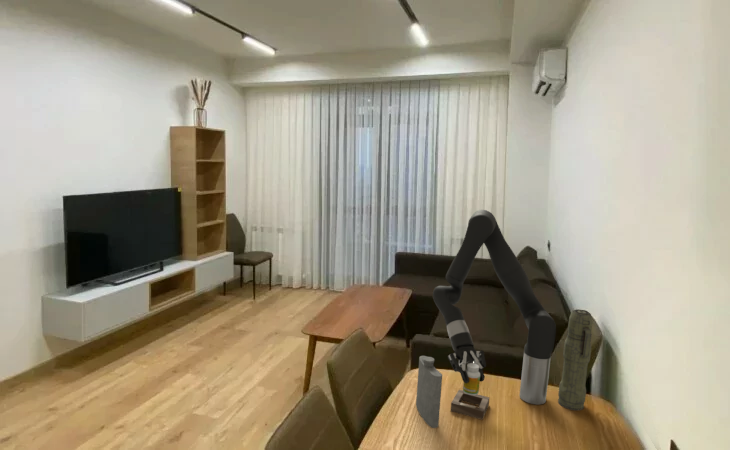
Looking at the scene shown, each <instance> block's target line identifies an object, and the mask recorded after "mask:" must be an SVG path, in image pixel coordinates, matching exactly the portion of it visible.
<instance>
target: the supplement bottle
mask: <svg viewBox="0 0 730 450" xmlns="http://www.w3.org/2000/svg"><path fill="white" fill-rule="evenodd" d="M465 371H466V372H467V375H468V378H469V382H468V383H465V382H463V384H462V390H463V391H464V393H466V394H468V395H477V394H478V395H479V391H480V383H481V382H480V372H479V366H478V365H477V364H474V363H466V369H465Z"/></svg>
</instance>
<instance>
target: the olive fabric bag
mask: <svg viewBox="0 0 730 450" xmlns="http://www.w3.org/2000/svg"><path fill="white" fill-rule="evenodd" d="M592 329H593V318H592V313H591V312H590V311H587V310H584V309H574V310H572V311H571V313H570V314H569V318H568V326H567V334H566V335H567V336H566V338H565V340H564V343H563V344H564V346H563V352H562V353H563V354H562V357H563V365H562V372H561V373H562V374H561V381H560V382H559V386H558V399H557V403H558V404H559V405H560V406H561V407H562V408H565V409H567V410H571V411H582V410H584V407H585V402H586V397H587V396H586V395H587V387H586V381H587V375H588V367H589V366H588V365H589V363H590V362H591V354H592V344H591V341H592Z"/></svg>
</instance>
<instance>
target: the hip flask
mask: <svg viewBox="0 0 730 450" xmlns="http://www.w3.org/2000/svg"><path fill="white" fill-rule="evenodd" d="M434 363H435V358H434V357H432V356H427V355H420V356H419V358H418V368H417V369H418V370H417V372H418V373H417V383H416V384H417V385H416V386H417V387H416V398H415V399H416V401H415V406H416V408H417V411H418V413H419V416H420V417H421V418H422V420H423V421H424V422H425V423H426V424H427V425H428V426H429V427H430V428H431V429H437V428H438V427H439V425H440V424H439V423H440V410H441V397H442V396H441V395H442V385H443V382H442V381H443V373H441V372H440V371H439V370H437V368H436V367H435V366H434Z"/></svg>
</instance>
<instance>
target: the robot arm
mask: <svg viewBox="0 0 730 450" xmlns="http://www.w3.org/2000/svg"><path fill="white" fill-rule="evenodd" d="M465 231H466V232H465V234H464V238H463V241H462V244H461V246H460V247H459V250H458V252H457V253H456V255H455V257H454V258H453V260H452V262H451V264H450V265H449V268H448V270H447V272H446V274H445V280H446V282H447V283H448V284H449V285H448V286H447V285H438V286H437V285H436V286H435V287H434V289H433V291H432V299H433V302H434V304H435V305H436V307H437V309H438V311H439V312H440V314H441V315H442V317H443V319H444V322H445V326H446V330H447V335H448V337H449V341H450V344H451V347H452V350H453V351H454V352H451V353H450V354H449V355H447V360H448V361H449V363H450V365H451V367H452V369H453V372H456V373H457V372H458V373H460V376H461V379H462V381H463V383H464V382H465V383H468V382H469V378H468V375H467V372H466V371H465V370H466V366H467V364H469V363H474V364H477V365H478V366H479V372H480V383H481V382H483V381H484V380H485V379H486V377H485V374H484V370H483V369H484V368H486V367H487V362H486V358H485V351H484V350H483V349H482V350H476V349H475V346H474V342H473V338H472V335H471V333H470V330H469V327H468V325H467V323H466V320H465V317H464V315H463V312H462V310H461V309H460V308H459V307H458V306H455V305H456V304H458V303H459V301H460V300H461V297H462V293H463V292H462V291H463V287H464V282H465V280H466V279H467V277H468V274H469V273H470V271H471V268H472V265H473V263H474V261H475V259H476V257H477V255H478V253H479V250H480V249H481V247H482V246H483V245H484V246H485V248H486V249H487V252H488V254H489V258H490V261H491V264H492V267H493V269H494V272H495V274H496V276H497V278H498V279H499V281H500V282H501V285H502V286H503V287H504V289H505V291H506V292H507V293H508V294H509V296H510V297H511V298H512V299H513V301H514V302H515V304H516V305H517V307H518V309H519V311H520V314H521V315H522V317H523V320H524V322H525V323H524V324H525V325H526V328H527V329H528V333H527V340H526V343H525V344H524V348H523V359H522V368H521V369H522V370H521V378H520V379H521V380H520V386H519V398H520V399H521V400H522V401H524V402H526V403H527V404H531V405H544V404H545V403H546V401H547V392H548V385H549V376H550V366H551V357H552V352H553V351H554V347H555V340H556V334H557V325H556V322H555V320H554V318H553V317H552V316H551V315H550V314H549V313H548V311H547V310H546V309H545V307H544V306H543V305H542V304H541V302H540V301H539V299H538V298H537V296H536V294H535V293H534V290H533V287H532V285H531V282H530V279H529V277H528V274H527V273H526V271H525V268H524V267H523V266H522V263H520V261H519V259H518V257H517V256H516V254H515V253H514V251H513V250H512V248H511V247H510V245H509V243H507V241H506V239H505V237H504V235H503V233H502V230H501V228H500V226H499V225H498V221H497V220H496V217H495V216H494V214H493V213H492V212H490V211H488V210H486V209H479V210H476V211H475V212H474V213H473V214H472V215H471V217H470V218H469V219H468V224H467V228H466V230H465Z"/></svg>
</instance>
